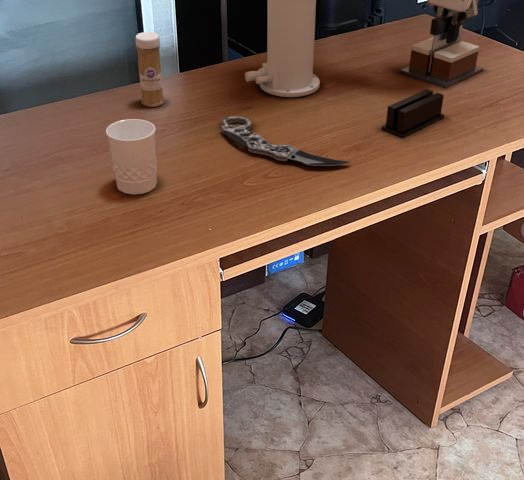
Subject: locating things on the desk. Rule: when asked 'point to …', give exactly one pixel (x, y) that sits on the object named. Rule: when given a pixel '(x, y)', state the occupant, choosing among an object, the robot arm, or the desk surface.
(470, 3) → the robot arm
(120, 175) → the white cup
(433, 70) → the cake
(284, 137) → the desk surface
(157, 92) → the sprinkles bottle
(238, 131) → the knife
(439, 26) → the plate
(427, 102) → the stand
